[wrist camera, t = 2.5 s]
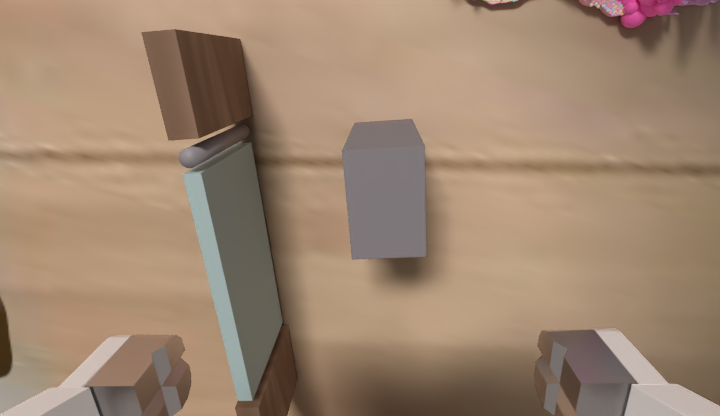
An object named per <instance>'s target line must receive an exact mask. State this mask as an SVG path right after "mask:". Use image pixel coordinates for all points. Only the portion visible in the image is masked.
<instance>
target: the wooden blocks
mask: <svg viewBox="0 0 720 416" xmlns="http://www.w3.org/2000/svg"><path fill="white" fill-rule="evenodd" d="M142 36H143V40H144V44H145V48H146V52H147V56H148V60H149V64H150V68H151V72H152V76H153V80H154V84H155V88H156V92H157V96H158V100H159V104H160V108H161V112H162V116H163V120H164V124H165V128H166V132H167V136H168V140H181V139H197V138H201V137H203V136H206V135H208V134H210V133H213V132H215V131H217V130H220V129H222V128H225V127H227V126H229V125H232V124H234V123H236V122H239V121H241V120H243V119H246V118H248V117H250V116H253V114H252V108H251V102H250V96H249V90H248V84H247V78H246V72H245V66H244V60H243V54H242V48H241V42H240V39H237V38H230V37H223V36H216V35H210V34H203V33H196V32H189V31H182V30H175V29H174V30H163V31H152V32H142ZM296 381H297V374H296V368H295V362H294V357H293V351H292V345H291V339H290V333H289V327H288V325H282V326H281V328H280V331H279V333H278V336H277V339H276V341H275V344H274V346H273V349H272V352H271V354H270V357H269V359H268V362H267V365H266V367H265V370H264V372H263V375H262V378H261V380H260V383H259V385H258V388H257V391H256V393H255V396H254V398H253V401H238V402H237V405H236V407H235V409H236V413H237V416H287V414H288V411H289V407H290V403H291V400H292V396H293V392H294V389H295V385H296Z"/></svg>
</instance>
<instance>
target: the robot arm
mask: <svg viewBox="0 0 720 416" xmlns="http://www.w3.org/2000/svg"><path fill="white" fill-rule="evenodd" d="M538 347H539V349H540V351H541V353H542V354H543V355H542V356H541V357H540V358H539V359H538V360H537V361H536V362H535V372H534V377H535V385H536V390H537V393H538V396H539V399H540V401H541V403H542V405H543V407H544V409H546V410H547V411H548V412H550V413H551V414H552V415H554V416H720V406H719V405H717V404H715V403H713V402H711V401H709V400H707V399H706V398H704V397H702V396H700V395H698V394H696V393H694V392H692V391H690V390H688V389H686V388H684V387H682V386H680V385H678V384H669V383H668V382H667V381H666V380H665V379H664V378H663V377H662V376H661V375H660V374H659V373H658V371H657V370H656V369H655V368H654V367H653V366H652V365H651V364H650V363H649V362H648V361H647V360H646V359H645V357H644V356H643V355H642V354H641V353H640V352H639V351H638V350H637V349H636V348H635V347H634V346H633V345H632V343H631V342H630V341H629V340H628V339H627V338H626V337H625V336H624V335H623V334H622V333H621V332H620V331H619V330H617V329H615V328H596V329H589V330H542V331H541V333H540V335H539V339H538ZM184 351H185V347H184V344H183V341H182V338H181V337H179V336H177V335H114V336H111V337H108V338H107V339H106V340H105V341H104V342H103V343H102V344H101V345H100V346H99V347H98V348H97V349H96V350H95V351H94V352H93V353H92V354H91V355H90V356H89V357H88V358H87V359H86V360H85V361H84V362H83V363H82V364H81V365H80V366H79V367H78V368H77V369H76V370H75V371H74V372H73V373H72V374H71V375H70V376H69V377H68V378H67V379H66V380H65V381H64V382H63V383H62V384H61V385H60V386H59V387H58V388H49V389H47V390H45V391H43V392H42V393H40V394H38V395H36V396H34V397H32V398H30V399H28V400H26V401H24V402H22V403H20V404H18V405H17V406H15V407H13V408H11V409H9V410H7V411H5V412H3V413H1V414H0V416H173V415H174V414H176V413H177V412H178V411H180V410H181V409H182V408H183V406H184V404H185V402H186V400H187V398H188V395H189V391H190V387H191V371H190V367H189V365H188V364H187V363H186V362H185V361H184V360H183V359H182V358H181V356H182V354H183V353H184Z"/></svg>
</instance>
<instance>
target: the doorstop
mask: <svg viewBox="0 0 720 416" xmlns="http://www.w3.org/2000/svg"><path fill="white" fill-rule="evenodd" d="M342 156H343V166H344V177H345V188H346V199H347V210H348V221H349V232H350V243H351V254H352V259H378V258H404V257H426V201H425V145H424V143H423V141H422V139H421V137H420V135H419V133H418V131H417V129H416V126H415V124H414V122H413V120H412V119H405V120H390V121H375V122H360V123H355V124H354V126H353V128H352V130H351V132H350V135H349V137H348V139H347V141H346V143H345V145H344V148H343V150H342Z"/></svg>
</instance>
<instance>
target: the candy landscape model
mask: <svg viewBox="0 0 720 416" xmlns="http://www.w3.org/2000/svg"><path fill="white" fill-rule="evenodd" d="M473 1H475V0H473ZM482 1H485V2H486V3H487V4H489V5H493V4H498V3H508V2H516V1H518V0H482ZM578 1H579V2H580V3H581V4H582V5H584V6H586V7H588V6H590V7H592V6H596V7H597V8H599V9H600V10H601V11H602V12H603V13H604V14H605V15H606V16H608V17H613V16H621V23H622V25H624V26H625V27H628V28H634V27H637V26H639V25H640V24H642V23H643V22H644V20H645V18H646V17H653V16H656V15H658V16H663V15H679V13H677V12H670V11H671V10H672V9H673V7H674V6H676V5H678V6H684V5H693V4H695V5H699V6H704V5H708V4H709V2H710V3H714V2H718V1H720V0H578Z"/></svg>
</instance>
